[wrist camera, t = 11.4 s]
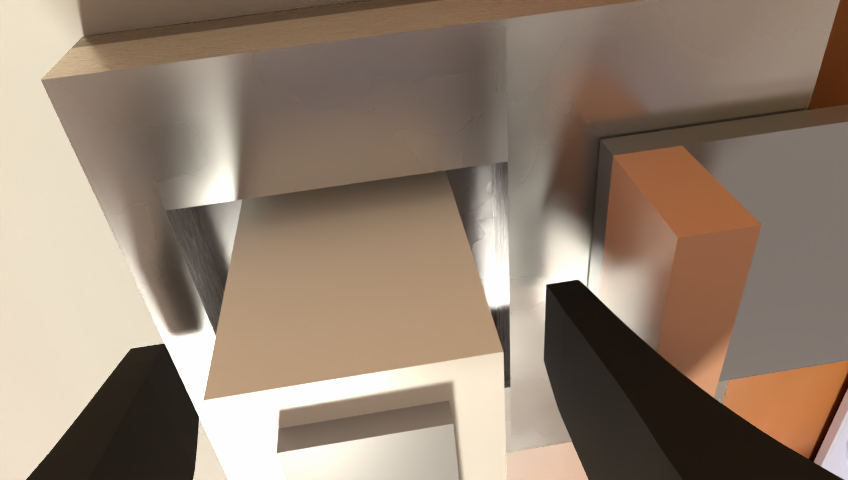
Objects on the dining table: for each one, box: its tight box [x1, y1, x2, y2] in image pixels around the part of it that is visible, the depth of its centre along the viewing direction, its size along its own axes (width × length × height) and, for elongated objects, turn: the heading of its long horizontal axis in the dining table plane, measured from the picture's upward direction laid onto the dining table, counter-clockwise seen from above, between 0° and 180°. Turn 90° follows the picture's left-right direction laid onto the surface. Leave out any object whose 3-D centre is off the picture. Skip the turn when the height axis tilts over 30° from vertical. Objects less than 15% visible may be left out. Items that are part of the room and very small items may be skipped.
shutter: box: [588, 104, 848, 398], centre depth 12 cm, size 6×6×3 cm
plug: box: [203, 170, 507, 480], centre depth 11 cm, size 4×4×6 cm
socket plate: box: [41, 0, 840, 480], centre depth 14 cm, size 12×11×2 cm
